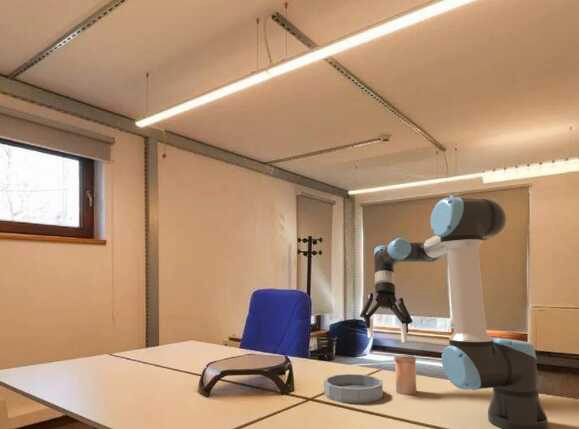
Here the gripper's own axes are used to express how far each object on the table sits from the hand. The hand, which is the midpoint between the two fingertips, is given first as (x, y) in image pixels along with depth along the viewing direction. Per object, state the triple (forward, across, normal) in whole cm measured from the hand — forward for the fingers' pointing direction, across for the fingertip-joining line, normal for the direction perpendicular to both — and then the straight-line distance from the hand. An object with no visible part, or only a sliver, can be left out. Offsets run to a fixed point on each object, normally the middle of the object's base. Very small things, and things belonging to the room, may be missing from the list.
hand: (387, 339), depth 156 cm
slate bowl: (+19, +11, -6) cm, 23 cm away
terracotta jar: (+17, -8, -3) cm, 19 cm away
